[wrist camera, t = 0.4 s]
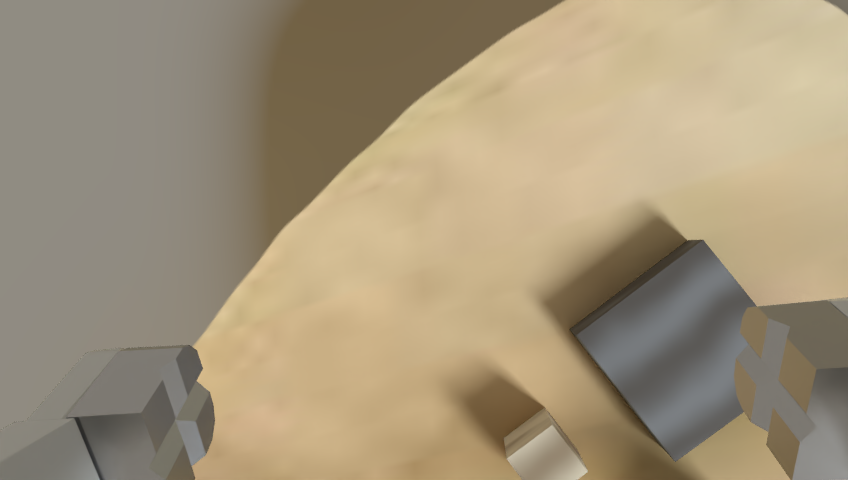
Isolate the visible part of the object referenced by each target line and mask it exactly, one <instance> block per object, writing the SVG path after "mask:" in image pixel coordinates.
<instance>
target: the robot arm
mask: <svg viewBox="0 0 848 480" xmlns="http://www.w3.org/2000/svg"><path fill="white" fill-rule="evenodd" d="M740 333H741V335H742V336H743V337H744V339H745V340H746V341H747V343H748V345H747V347H746V348H745V349H744V350H743V351H742V352H741V353H740V354H739V355H738V356H737V357H736V361H735V371H734V381H735V388H736V394H737V397H738V400H739V402H740V405H741V407H742V409H743V411H744V413H745V414H746V416H747V417H748V419H749V420H750V422H752V423H754V424H755V425H757V426H759V427H761V428H763V429H764V430H766V431H768V438H767V443H766V445H767V446H768V448H769V449H770V451H771V452H772V454H773V455H774V457H775V458H776V459H777V461H778V462H779V464H780V465H781V467H782V468H783V469H784V471H785V472H786V474H787V475H788V477H789V478H790V479H791V480H848V298H839V299H829V300H820V301H813V302H802V303H791V304H780V305H769V306H758V307H747V309H746V311H745V313H744V315H743V317H742V322H741V328H740ZM202 369H203V367H202V364H201V361H200V359H199V356H198V353H197V350H196V349H194V348H193V347H192V346H190V345H178V346H158V347H138V348H126V349H124V348H116V349H103V350H94V351H91V352H87V353H85V354H84V355H83V357H82V358H81V359H80V360H79V361H78V362H77V363H76V365H75V366H74V367H73V368H72V369H71V370H70V372H69V373H68V374H67V375H66V376H65V377H64V378H63V379H62V381H61V382H60V383H59V384H58V385H57V386H56V387H55V388H54V390H53V391H52V392H51V393H50V394H49V395H48V396H47V398H46V399H45V400H44V401H43V402H42V403H41V404H40V406H39V407H38V408H37V409H36V410H35V411H34V412H33V413H32V415H31V416H30V417H29V418H28V419H27V421H22V422H14V423H12V424H10V425H8V426H6V427H5V428H3V429H1V430H0V480H195V476H194V473H193V470H192V465H194V464H195V463H196V462H197V461H199V460H200V459H201V458H203V457H204V456H205V455H206V453H207V451H208V449H209V446H210V444H211V441H212V437H213V430H214V423H215V417H214V406H213V402H212V398H211V395H210V392H209V391H208V390H206V389H205V388H204V387H203V386H202V385H201V384H199V383H198V382H197V379H198V377H199V375H200V373H201V371H202Z"/></svg>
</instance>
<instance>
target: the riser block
mask: <svg viewBox="0 0 848 480" xmlns="http://www.w3.org/2000/svg"><path fill="white" fill-rule="evenodd" d="M747 307H757V306H756V305H755V303H754V302H753V301H752V300H751V298H750V297H749V296H748V295H747V293H746V292H745V291H744V290H743V289H742V287H741V286H740V285H739V284H738V282H737V281H736V280H735V279H734V277H733V276H732V275H731V274H730V273H729V271H728V270H727V269H726V268H725V266H724V265H723V264H722V263H721V261H720V260H719V259H718V258H717V256H716V255H715V254H714V253H713V252H712V250H711V249H710V248H709V247H708V245H707V244H706V243H705V242H704V240H688V241H686V242H685V243H684V244H682V245H681V246H680V247H678V248H677V249H676V250H674V251H673V252H672V253H670V254H669V255H668V256H666V257H665V258H664V259H662V260H661V261H660V262H658V263H657V264H656V265H654V266H653V267H652V268H650V269H649V270H648V271H646V272H645V273H644V274H642V275H641V276H640V277H638V278H637V279H636V280H635V281H633V282H632V283H631V284H629V285H628V286H627V287H625V288H624V289H623V290H621V291H620V292H619V293H617V294H616V295H615V296H613V297H612V298H611V299H609V300H608V301H607V302H605V303H604V304H603V305H601V306H600V307H599V308H597V309H596V310H595V311H593V312H592V313H591V314H589V315H588V316H587V317H585V318H584V319H583V320H582V321H580V322H579V323H578V324H576V325H575V326H574V327H572V328H571V329H570V331H571V332H572V333H573V334H574V336H575V337H576V338H577V340H578V341H579V342H580V343H581V345H582V346H583V347H584V348H585V350H586V351H587V352H588V354H589V355H590V356H591V357H592V359H593V360H594V361H595V363H596V364H597V365H598V366H599V368H600V369H601V370H602V371H603V373H604V374H605V375H606V377H607V378H608V379H609V380H610V382H611V383H612V384H613V386H614V387H615V388H616V389H617V391H618V392H619V393H620V394H621V396H622V397H623V398H624V400H625V401H626V402H627V403H628V405H629V406H630V407H631V408H632V410H633V411H634V412H635V414H636V415H637V416H638V417H639V419H640V420H641V421H642V423H643V424H644V425H645V426H646V428H647V429H648V430H649V431H650V433H651V434H652V435H653V437H654V438H655V439H656V440H657V442H658V443H659V444H660V446H661V447H662V448H663V449H664V450H665V451H666V452H667V453H668V454H669V455H670V457H671V458H672V459H673V460H674V461H675V462H676V461H677V460H678V459H680V458H681V457H683V456H684V455H685V454H687V453H688V452H689V451H691V450H692V449H694V448H695V447H696V446H698V445H699V444H700V443H702V442H703V441H705V440H706V439H707V438H709V437H710V436H711V435H713V434H714V433H715V432H717V431H718V430H720V429H721V428H722V427H724V426H725V425H726V424H728V423H729V422H731V421H732V420H733V419H735V418H736V417H737V416H739V415H740V414H742V413H743V412H744V411H743V409H742V407H741V405H740V402H739V400H738V397H737V394H736V388H735V381H734V371H735V361H736V357H737V356H738V355H739V354H740V353H741V352H742V351H743V350H744V349H745V348H746V347H747V345H748V343H747V341H746V340H745V339H744V337H743V336H742V335H741V333H740V328H741V322H742V317H743V315H744V313H745V311H746V309H747Z"/></svg>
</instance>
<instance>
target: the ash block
mask: <svg viewBox="0 0 848 480" xmlns="http://www.w3.org/2000/svg"><path fill="white" fill-rule="evenodd" d="M504 444H505V451H506V459H507V460H508V461H509V463H510V464H511V465H512V467H513V468H514V469H515V471H516V472H517V473H518V475H519V476H520V477H521V479H522V480H578V479H579V478H580V477H582V476H583V475H584V474H586V473H587V472H588V470H587V468H586V466H585V464H584V462H583V460H582V458H581V456H580V454H579V452H578V450H577V448H576V447H575V446H574V444H573V443H572V442H571V441H570V439H569V438H568V437H567V435H566V434H565V433H564V431H563V430H562V429H561V428H560V426H559V425H558V424H557V422H556V421H555V420H554V419H553V417H552V416H551V415H550V413H549V412H548V411H547V409H546V408H545V407H544V408H543V409H542V410H540V411H539V412H538V413H536V414H535V415H534V416H532V417H531V418H530V419H528V420H527V421H526V422H524V423H523V424H522V425H520V426H519V427H518V428H516V429H515V430H514V431H512V432H511V433H510V434H508V435H507V436H506V437H504Z"/></svg>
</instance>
